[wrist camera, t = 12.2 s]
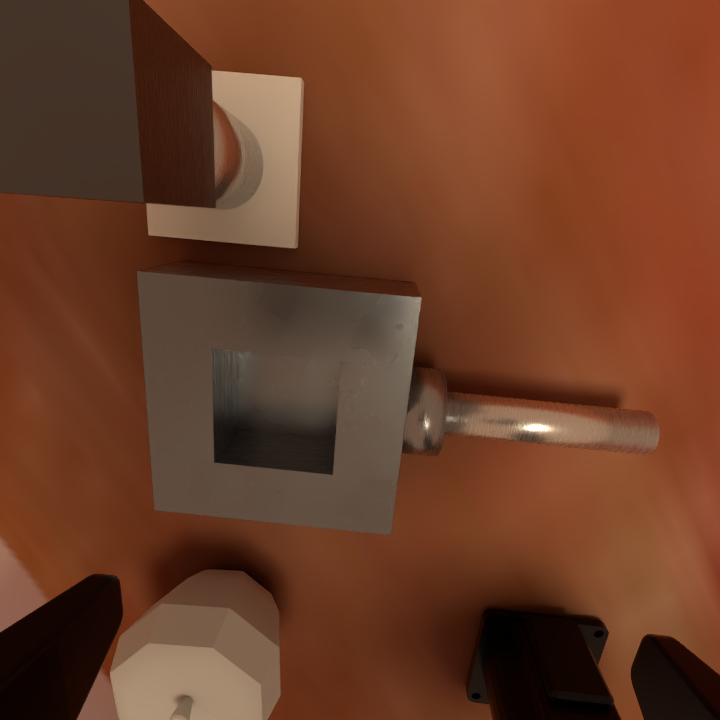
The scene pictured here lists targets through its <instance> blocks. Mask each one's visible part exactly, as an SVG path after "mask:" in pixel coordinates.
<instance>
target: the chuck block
mask: <svg viewBox="0 0 720 720" xmlns="http://www.w3.org/2000/svg"><path fill="white" fill-rule="evenodd" d="M137 282H138V296H139V309H140V323H141V336H142V349H143V363H144V376H145V390H146V403H147V416H148V430H149V443H150V457H151V470H152V484H153V497H154V510H158V511H167V512H177V513H186V514H196V515H205V516H214V517H224V518H233V519H243V520H252V521H262V522H271V523H281V524H290V525H300V526H309V527H319V528H328V529H337V530H347V531H356V532H366V533H375V534H385V535H391V530H392V522H393V514H394V506H395V499H396V491H397V483H398V476H399V468H400V460H401V453H407V454H417V455H427V456H438V454H439V452H440V450H441V447H442V443H443V438H444V435H450V436H460V437H470V438H480V439H490V440H500V441H510V442H520V443H530V444H540V445H550V446H560V447H570V448H580V449H590V450H600V451H610V452H620V453H630V454H640V455H649V454H651V453H652V452H653V451H654V450H655V448H656V446H657V444H658V441H659V426H658V422H657V420H656V418H655V416H654V415H653V414H652V413H650V412H648V411H641V410H631V409H620V408H610V407H600V406H590V405H580V404H569V403H559V402H549V401H539V400H529V399H518V398H508V397H498V396H488V395H478V394H467V393H457V392H447V378H446V373H445V371H444V370H443V369H432V368H422V367H413V360H414V352H415V344H416V337H417V329H418V321H419V313H420V306H421V295H420V293H419V291H418V289H417V286H416V284H415V283H413V282H402V281H391V280H380V279H370V278H359V277H348V276H337V275H326V274H316V273H305V272H294V271H283V270H272V269H262V268H251V267H240V266H229V265H218V264H208V263H197V262H186V261H178V262H174V263H169V264H165V265H161V266H156V267H152V268H148V269H144V270H139V271H137Z"/></svg>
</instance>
